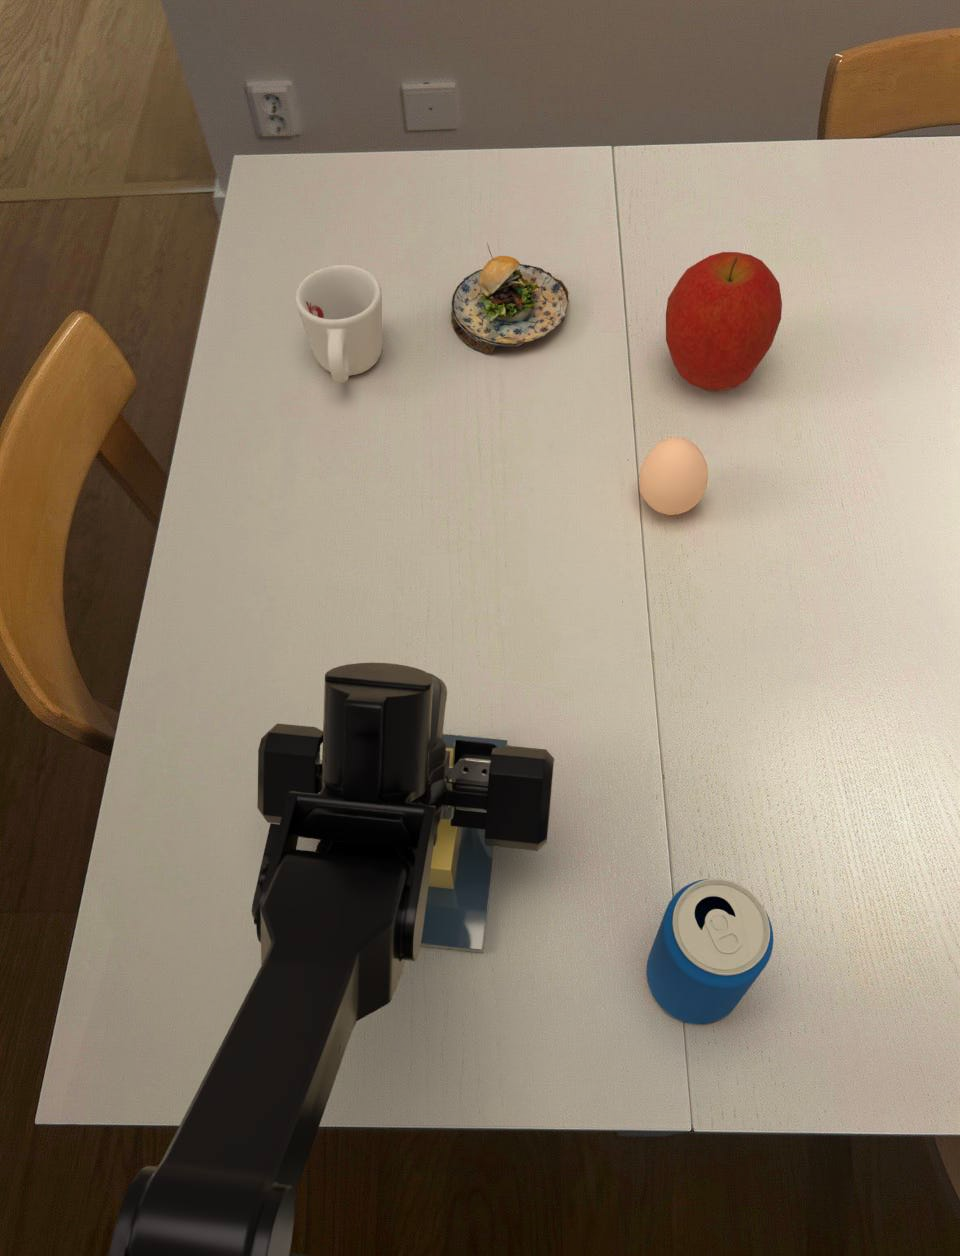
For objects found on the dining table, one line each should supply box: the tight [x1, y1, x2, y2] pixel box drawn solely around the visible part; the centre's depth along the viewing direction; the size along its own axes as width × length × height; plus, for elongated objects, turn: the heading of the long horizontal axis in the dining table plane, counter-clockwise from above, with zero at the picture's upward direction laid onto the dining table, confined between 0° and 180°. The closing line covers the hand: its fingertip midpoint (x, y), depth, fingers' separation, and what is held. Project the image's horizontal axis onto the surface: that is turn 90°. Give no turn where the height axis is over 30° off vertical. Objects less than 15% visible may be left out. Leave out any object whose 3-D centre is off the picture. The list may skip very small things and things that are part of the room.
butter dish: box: [420, 733, 509, 954], centre depth 76 cm, size 16×11×5 cm
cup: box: [295, 264, 383, 383], centre depth 100 cm, size 11×8×8 cm
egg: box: [638, 436, 709, 516], centre depth 90 cm, size 6×6×8 cm
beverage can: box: [646, 878, 774, 1025], centre depth 67 cm, size 6×6×12 cm
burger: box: [450, 243, 570, 355], centre depth 104 cm, size 12×12×8 cm
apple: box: [665, 251, 783, 392], centre depth 96 cm, size 10×10×14 cm
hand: (426, 743), depth 76 cm, fingers open, 4 cm apart
